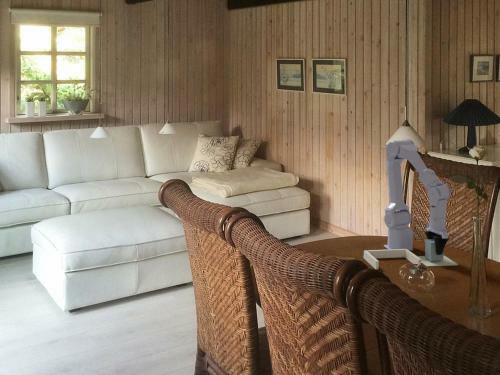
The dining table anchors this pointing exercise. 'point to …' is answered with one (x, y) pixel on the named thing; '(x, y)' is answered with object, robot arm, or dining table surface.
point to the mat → (437, 262)
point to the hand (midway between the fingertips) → (435, 252)
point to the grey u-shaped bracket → (389, 256)
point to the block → (432, 251)
